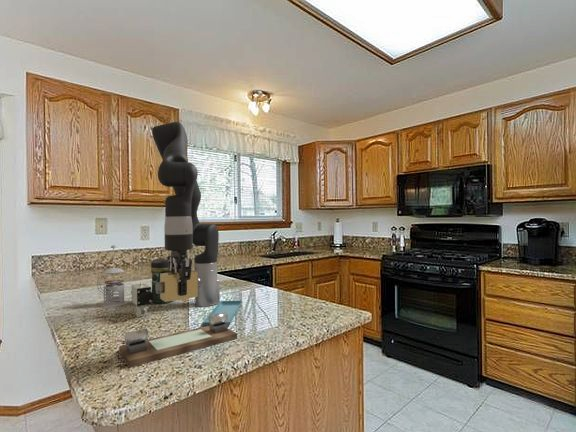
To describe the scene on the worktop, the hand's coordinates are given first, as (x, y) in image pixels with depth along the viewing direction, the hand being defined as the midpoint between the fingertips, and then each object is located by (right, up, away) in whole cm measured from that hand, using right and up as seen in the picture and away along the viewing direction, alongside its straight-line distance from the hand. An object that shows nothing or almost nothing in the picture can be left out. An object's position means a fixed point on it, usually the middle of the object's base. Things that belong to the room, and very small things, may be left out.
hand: (179, 293), depth 92 cm
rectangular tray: (+7, -15, +28) cm, 33 cm away
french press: (-44, -16, +47) cm, 66 cm away
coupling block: (0, -1, 0) cm, 1 cm away
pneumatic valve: (-23, -15, +29) cm, 41 cm away
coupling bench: (0, -14, 0) cm, 14 cm away
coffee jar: (-24, -16, +49) cm, 57 cm away
